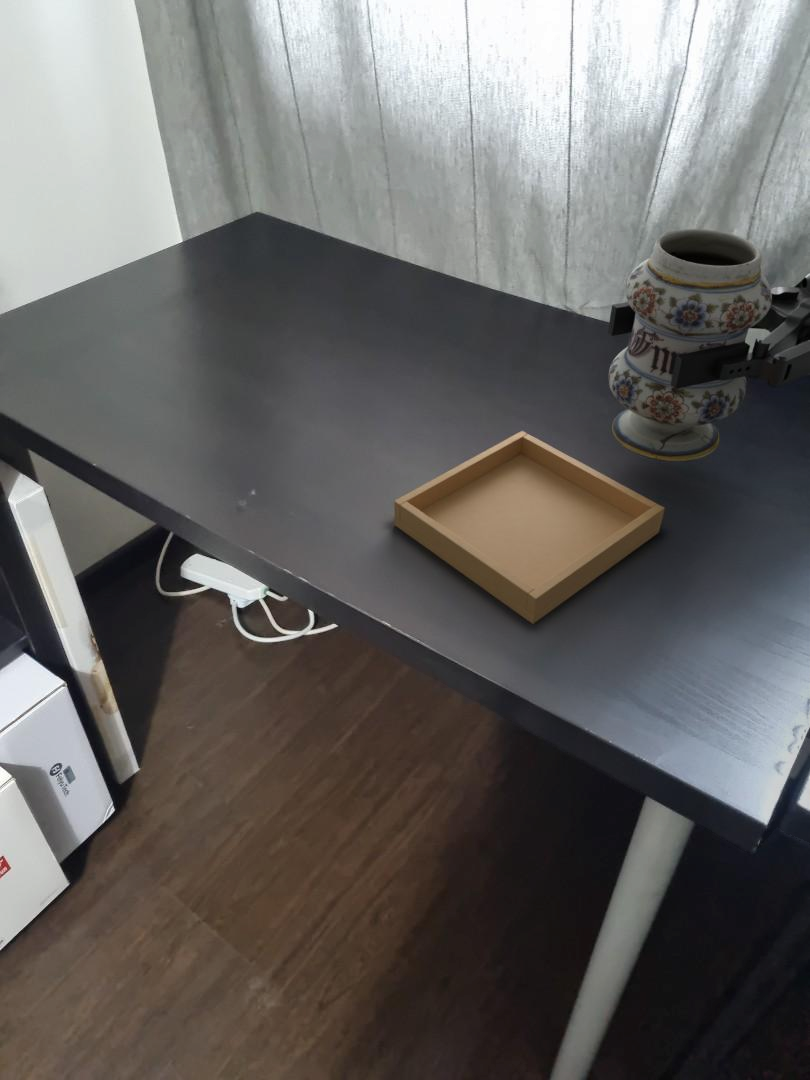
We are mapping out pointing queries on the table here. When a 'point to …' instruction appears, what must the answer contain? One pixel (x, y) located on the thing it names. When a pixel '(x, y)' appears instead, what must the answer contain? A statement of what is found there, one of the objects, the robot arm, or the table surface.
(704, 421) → the apothecary jar
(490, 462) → the tray
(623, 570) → the table surface
